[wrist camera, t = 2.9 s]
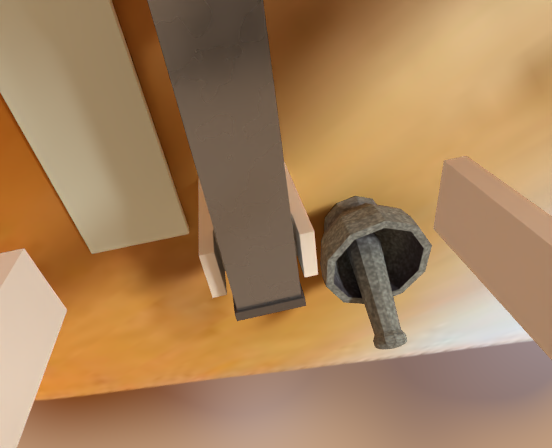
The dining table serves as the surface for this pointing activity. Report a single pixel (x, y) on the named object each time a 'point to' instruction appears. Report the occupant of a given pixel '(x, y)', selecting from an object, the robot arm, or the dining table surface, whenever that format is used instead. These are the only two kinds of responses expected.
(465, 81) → the dining table surface
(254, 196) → the rail
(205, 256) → the beige u-shaped block
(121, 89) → the mat
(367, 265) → the mortar and pestle
